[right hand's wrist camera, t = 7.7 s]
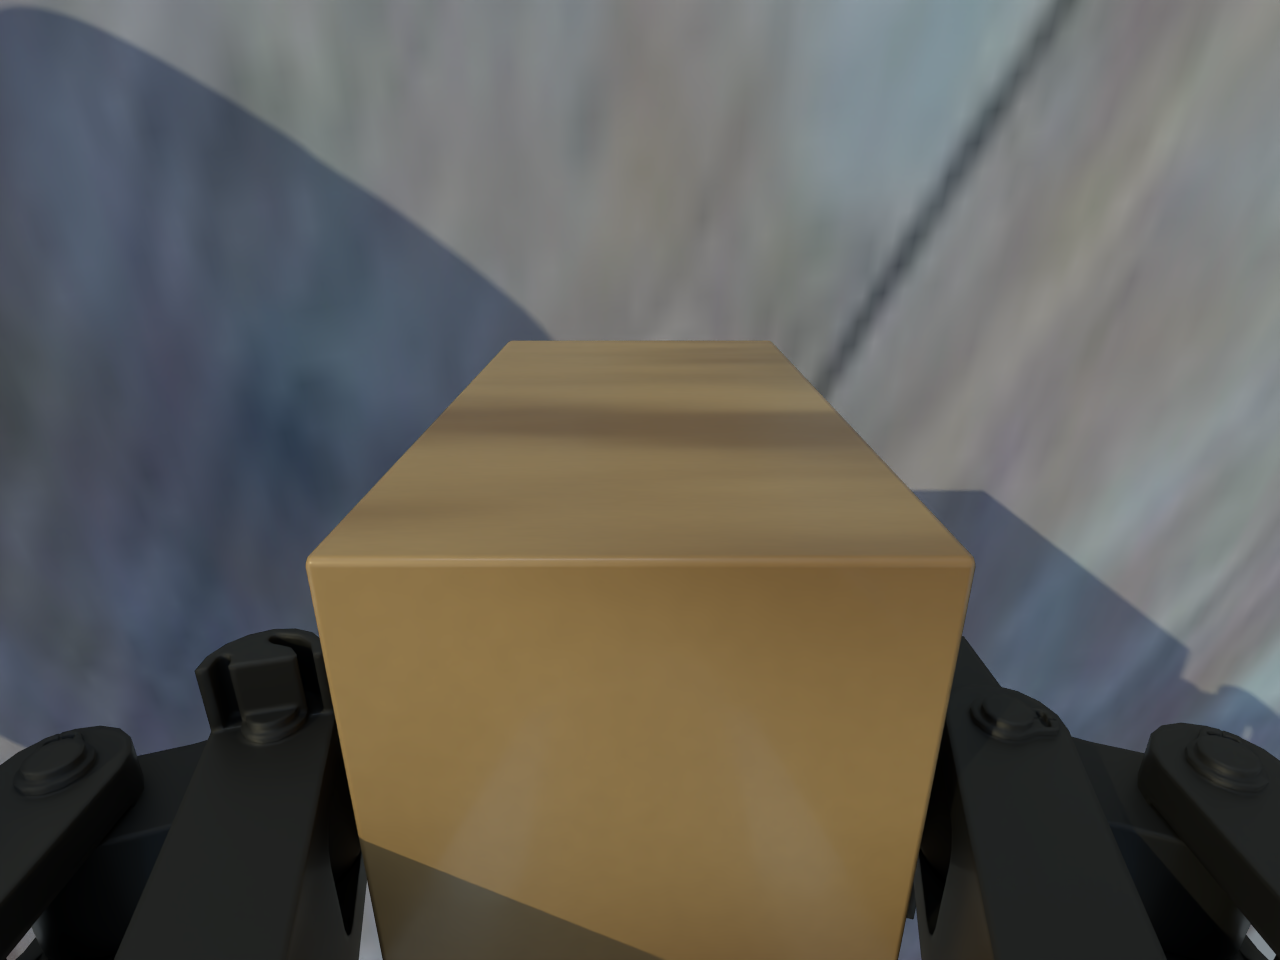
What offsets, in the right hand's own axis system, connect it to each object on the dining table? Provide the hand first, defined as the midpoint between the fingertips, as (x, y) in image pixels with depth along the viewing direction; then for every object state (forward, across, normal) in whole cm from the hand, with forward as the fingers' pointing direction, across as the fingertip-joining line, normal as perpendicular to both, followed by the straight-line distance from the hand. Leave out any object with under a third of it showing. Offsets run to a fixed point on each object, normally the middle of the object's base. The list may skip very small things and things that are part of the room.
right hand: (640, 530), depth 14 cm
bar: (+1, 0, -7) cm, 7 cm away
